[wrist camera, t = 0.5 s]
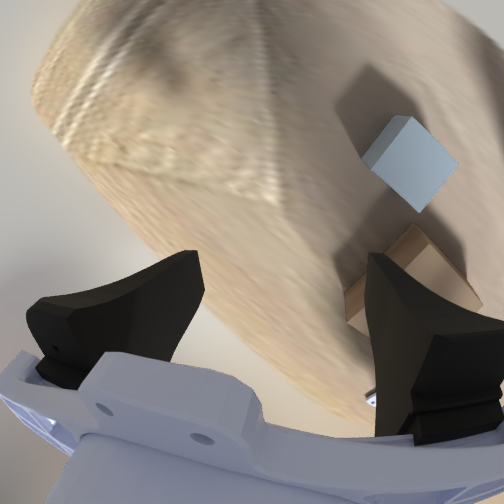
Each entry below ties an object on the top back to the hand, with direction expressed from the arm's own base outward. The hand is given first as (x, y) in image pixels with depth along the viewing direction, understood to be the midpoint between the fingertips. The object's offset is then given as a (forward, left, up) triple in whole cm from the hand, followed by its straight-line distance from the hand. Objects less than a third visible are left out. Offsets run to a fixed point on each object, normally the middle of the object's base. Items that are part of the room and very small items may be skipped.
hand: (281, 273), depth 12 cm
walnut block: (-12, 0, -10) cm, 15 cm away
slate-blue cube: (-4, -7, -10) cm, 13 cm away
